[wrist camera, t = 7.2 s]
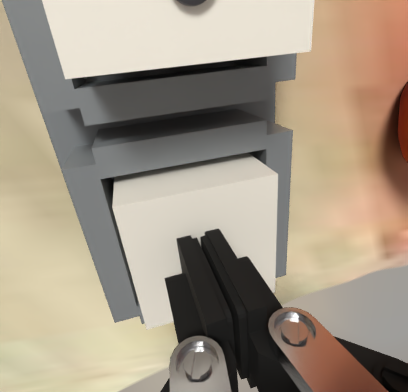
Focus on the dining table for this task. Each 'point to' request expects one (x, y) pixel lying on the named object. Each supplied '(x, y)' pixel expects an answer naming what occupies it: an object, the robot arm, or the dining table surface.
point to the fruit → (403, 123)
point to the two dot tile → (173, 32)
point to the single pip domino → (194, 220)
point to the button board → (149, 133)
